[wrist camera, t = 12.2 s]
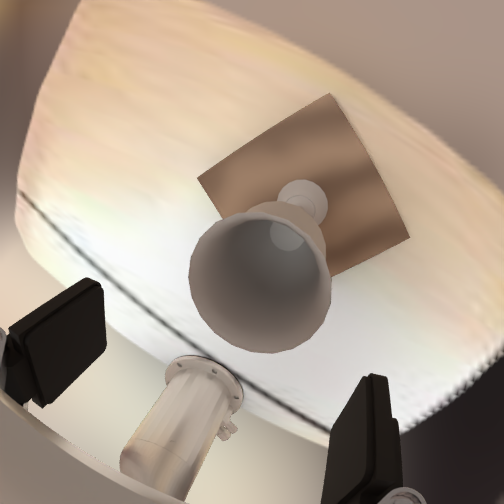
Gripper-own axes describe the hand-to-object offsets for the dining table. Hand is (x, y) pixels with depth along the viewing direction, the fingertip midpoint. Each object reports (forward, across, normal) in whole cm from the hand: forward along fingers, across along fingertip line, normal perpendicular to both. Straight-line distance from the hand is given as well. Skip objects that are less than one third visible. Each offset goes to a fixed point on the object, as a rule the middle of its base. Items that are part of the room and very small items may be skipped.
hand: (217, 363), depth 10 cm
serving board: (+25, 0, -1) cm, 25 cm away
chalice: (+23, 0, -1) cm, 23 cm away
